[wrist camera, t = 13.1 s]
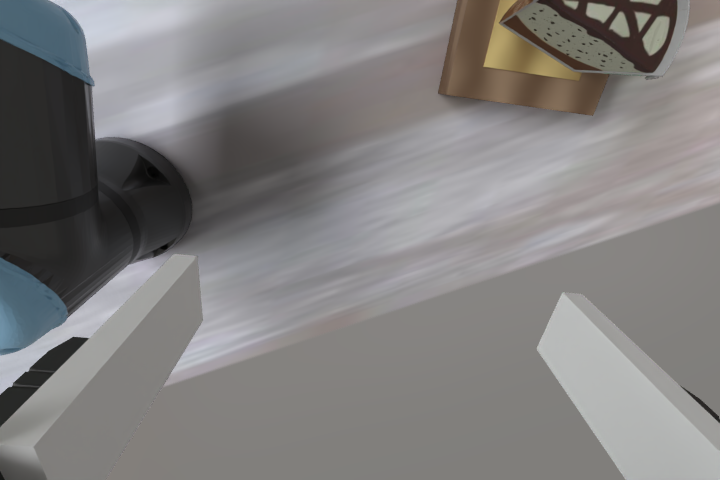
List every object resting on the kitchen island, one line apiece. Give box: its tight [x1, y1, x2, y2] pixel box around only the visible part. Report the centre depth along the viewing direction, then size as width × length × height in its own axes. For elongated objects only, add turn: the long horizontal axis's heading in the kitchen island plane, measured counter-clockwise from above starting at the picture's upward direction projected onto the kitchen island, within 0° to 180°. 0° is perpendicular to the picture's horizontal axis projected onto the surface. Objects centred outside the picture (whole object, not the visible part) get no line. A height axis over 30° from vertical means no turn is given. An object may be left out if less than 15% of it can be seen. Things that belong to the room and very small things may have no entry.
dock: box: [438, 0, 609, 116], centre depth 34 cm, size 16×18×4 cm
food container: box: [499, 0, 690, 80], centre depth 28 cm, size 12×6×10 cm, turn 64°
